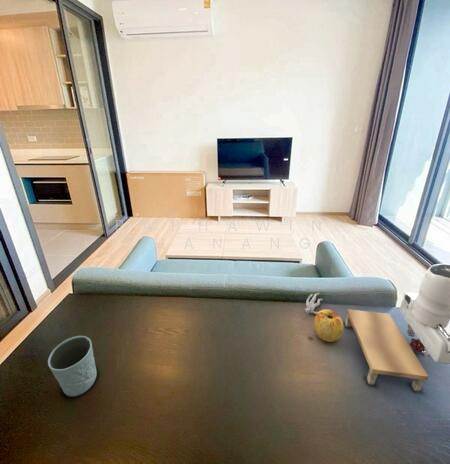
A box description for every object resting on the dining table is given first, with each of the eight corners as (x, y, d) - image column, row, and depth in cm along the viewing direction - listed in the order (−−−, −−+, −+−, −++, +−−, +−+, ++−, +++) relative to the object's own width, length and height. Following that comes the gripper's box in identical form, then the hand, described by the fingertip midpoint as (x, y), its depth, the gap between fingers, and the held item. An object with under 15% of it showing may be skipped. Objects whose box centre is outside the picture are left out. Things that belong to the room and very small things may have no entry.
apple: (341, 331, 86) (346, 309, 83) (339, 352, 79) (344, 329, 75) (314, 322, 90) (318, 300, 87) (310, 341, 83) (314, 318, 79)
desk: (384, 327, 88) (389, 313, 86) (421, 392, 68) (428, 376, 65) (344, 322, 90) (347, 309, 88) (368, 384, 70) (373, 369, 67)
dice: (426, 356, 78) (430, 347, 76) (411, 353, 79) (414, 344, 77) (420, 345, 81) (424, 337, 80) (405, 343, 82) (408, 334, 81)
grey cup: (106, 370, 73) (99, 340, 69) (78, 406, 64) (68, 375, 60) (80, 360, 76) (71, 331, 72) (49, 393, 67) (38, 363, 63)
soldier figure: (327, 306, 99) (322, 318, 88) (316, 310, 101) (310, 322, 90) (316, 288, 101) (310, 297, 91) (306, 292, 103) (299, 302, 93)
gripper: (468, 344, 64) (450, 379, 69) (421, 291, 83) (410, 322, 88) (442, 341, 65) (426, 376, 70) (401, 289, 84) (391, 320, 89)
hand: (417, 345), depth 79 cm, fingers open, 7 cm apart
